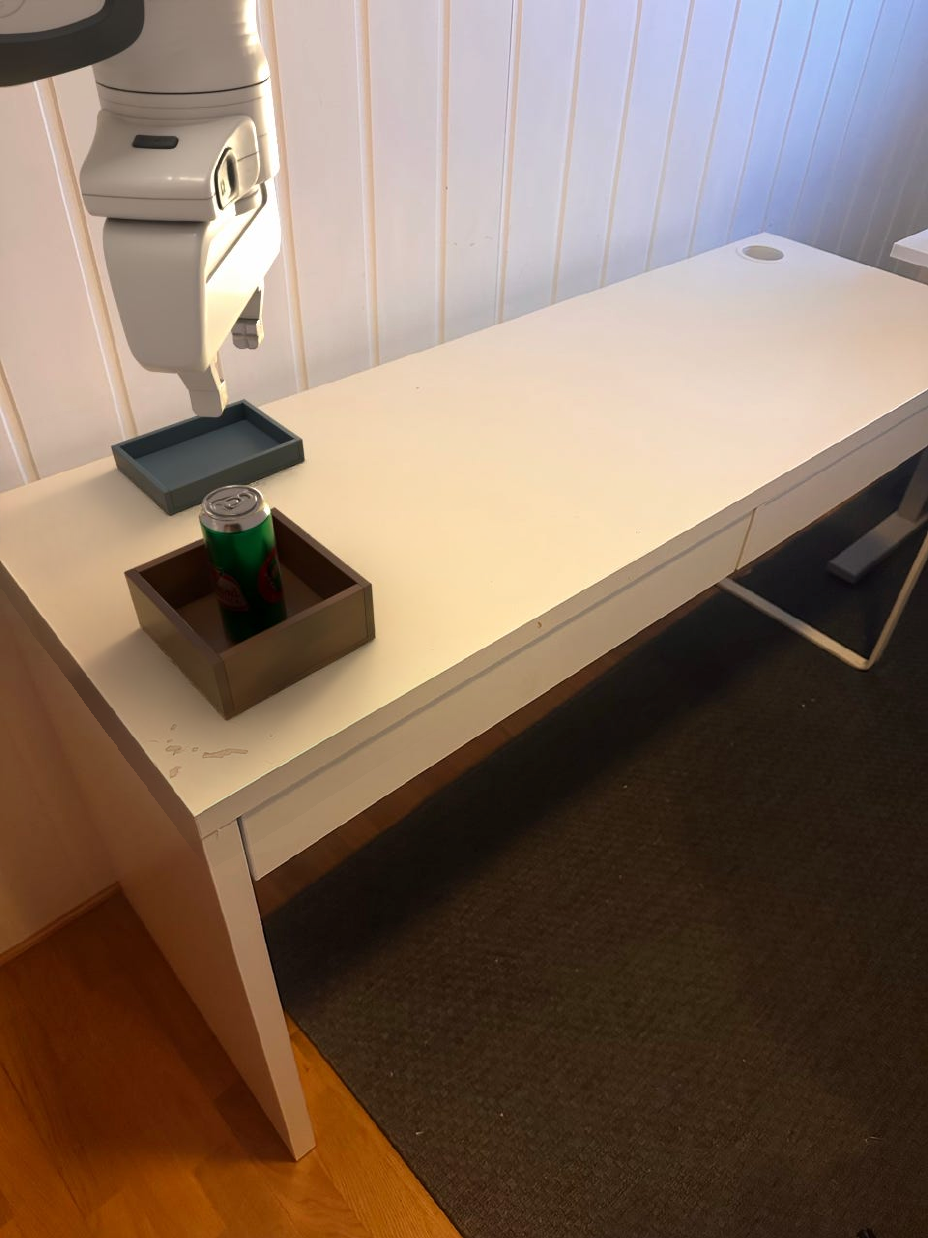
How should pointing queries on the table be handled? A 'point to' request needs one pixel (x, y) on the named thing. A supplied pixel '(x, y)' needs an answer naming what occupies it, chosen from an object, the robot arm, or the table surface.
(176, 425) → the tray
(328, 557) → the basket
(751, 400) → the table surface
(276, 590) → the soda can
